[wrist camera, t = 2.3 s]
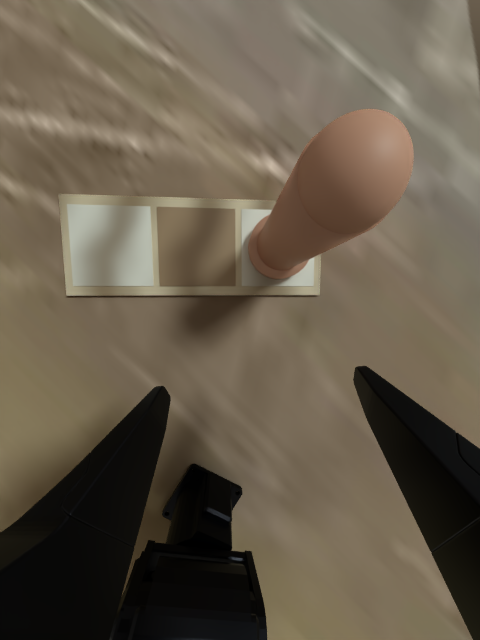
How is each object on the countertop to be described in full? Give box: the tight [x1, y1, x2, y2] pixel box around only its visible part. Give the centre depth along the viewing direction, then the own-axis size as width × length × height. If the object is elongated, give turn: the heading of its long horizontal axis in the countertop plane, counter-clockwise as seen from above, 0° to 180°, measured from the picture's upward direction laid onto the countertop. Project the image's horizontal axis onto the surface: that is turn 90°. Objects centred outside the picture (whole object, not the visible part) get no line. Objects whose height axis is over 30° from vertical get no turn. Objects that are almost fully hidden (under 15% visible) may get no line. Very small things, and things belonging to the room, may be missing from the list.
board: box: [59, 194, 321, 296], centre depth 21 cm, size 25×9×1 cm, turn 90°
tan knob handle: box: [248, 109, 414, 279], centre depth 14 cm, size 6×6×14 cm
